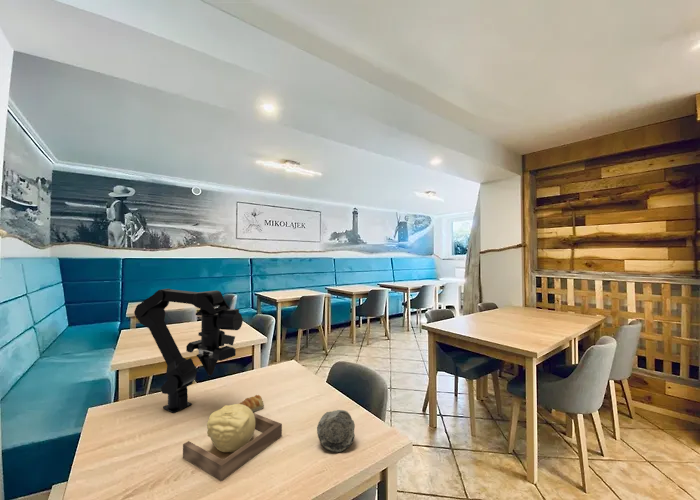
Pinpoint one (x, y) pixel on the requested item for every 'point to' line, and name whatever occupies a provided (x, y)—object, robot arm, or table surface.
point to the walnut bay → (239, 457)
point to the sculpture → (231, 427)
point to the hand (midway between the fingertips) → (210, 375)
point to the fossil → (336, 430)
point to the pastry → (254, 403)
